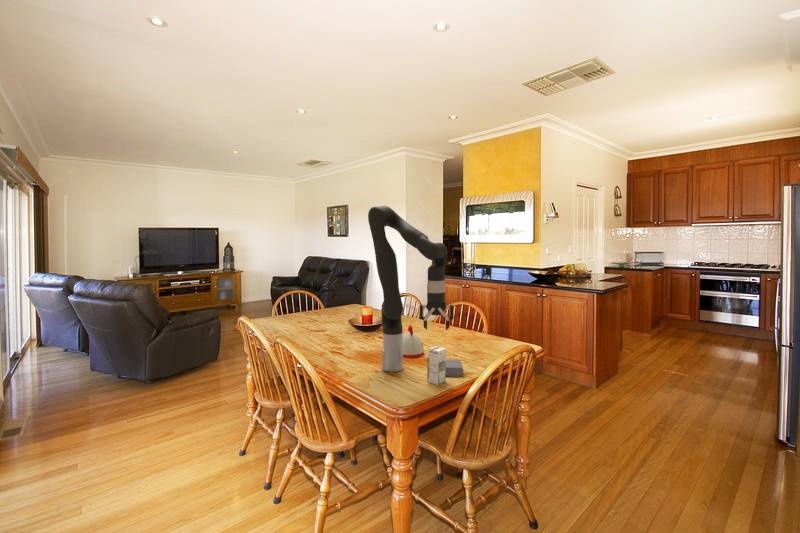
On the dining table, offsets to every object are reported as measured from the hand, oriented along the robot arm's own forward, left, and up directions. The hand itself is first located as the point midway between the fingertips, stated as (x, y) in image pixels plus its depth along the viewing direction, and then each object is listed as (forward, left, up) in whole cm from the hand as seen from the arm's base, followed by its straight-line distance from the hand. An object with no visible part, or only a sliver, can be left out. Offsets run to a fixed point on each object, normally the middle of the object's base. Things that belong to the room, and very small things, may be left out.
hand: (436, 329), depth 164 cm
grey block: (+6, +12, -23) cm, 26 cm away
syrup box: (0, 0, -23) cm, 23 cm away
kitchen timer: (-13, +38, -23) cm, 46 cm away
